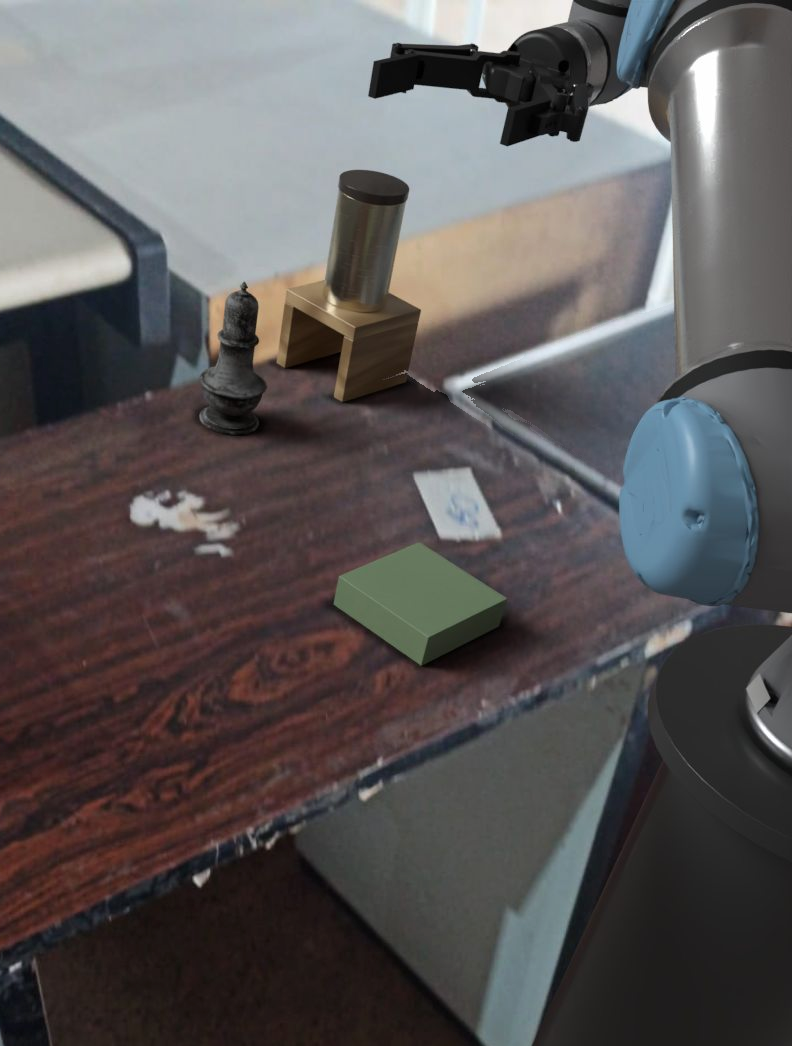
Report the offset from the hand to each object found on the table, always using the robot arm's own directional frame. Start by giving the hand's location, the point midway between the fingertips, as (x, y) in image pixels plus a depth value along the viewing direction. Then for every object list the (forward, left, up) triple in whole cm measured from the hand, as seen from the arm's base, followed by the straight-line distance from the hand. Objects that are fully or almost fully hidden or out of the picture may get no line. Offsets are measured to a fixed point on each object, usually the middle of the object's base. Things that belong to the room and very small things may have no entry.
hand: (439, 103), depth 110 cm
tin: (+1, +5, -16) cm, 17 cm away
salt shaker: (-1, +22, -23) cm, 32 cm away
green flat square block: (-31, +30, -23) cm, 49 cm away
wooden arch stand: (+1, +5, -23) cm, 24 cm away
